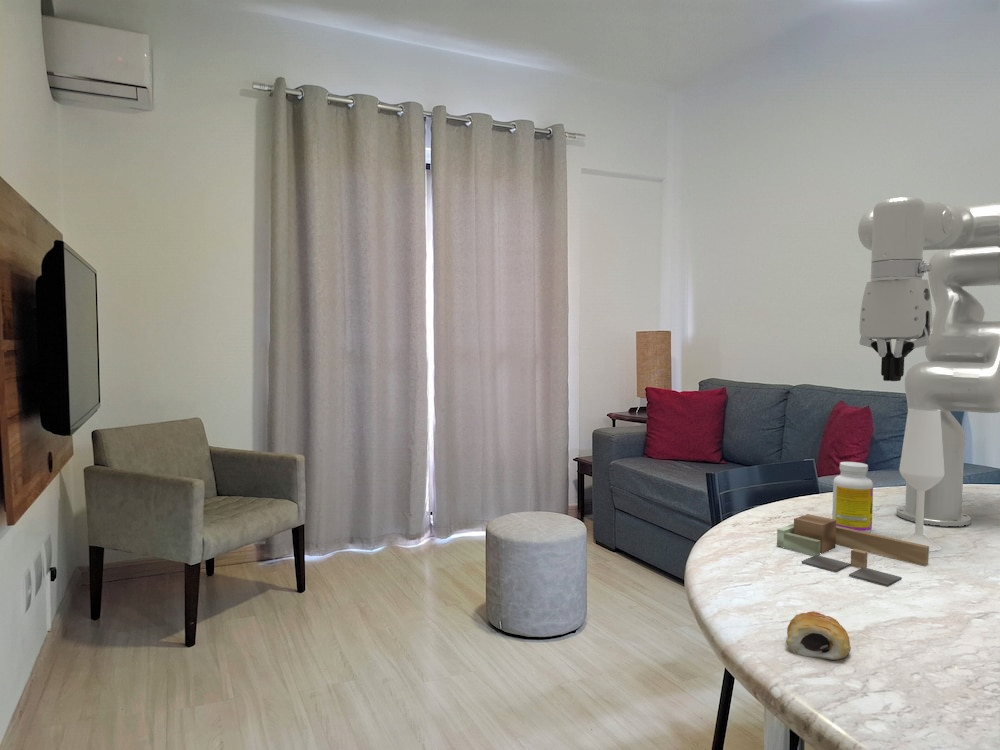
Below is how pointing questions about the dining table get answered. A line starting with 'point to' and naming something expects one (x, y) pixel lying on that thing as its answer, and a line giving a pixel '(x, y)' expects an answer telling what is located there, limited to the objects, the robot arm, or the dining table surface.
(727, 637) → the dining table surface
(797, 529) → the block
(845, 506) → the supplement bottle
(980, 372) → the robot arm
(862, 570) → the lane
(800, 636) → the pastry
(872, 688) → the dining table surface
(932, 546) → the champagne flute
